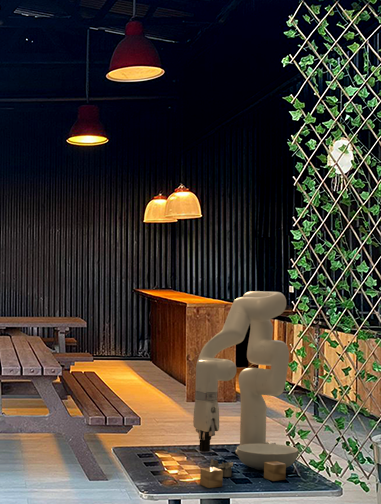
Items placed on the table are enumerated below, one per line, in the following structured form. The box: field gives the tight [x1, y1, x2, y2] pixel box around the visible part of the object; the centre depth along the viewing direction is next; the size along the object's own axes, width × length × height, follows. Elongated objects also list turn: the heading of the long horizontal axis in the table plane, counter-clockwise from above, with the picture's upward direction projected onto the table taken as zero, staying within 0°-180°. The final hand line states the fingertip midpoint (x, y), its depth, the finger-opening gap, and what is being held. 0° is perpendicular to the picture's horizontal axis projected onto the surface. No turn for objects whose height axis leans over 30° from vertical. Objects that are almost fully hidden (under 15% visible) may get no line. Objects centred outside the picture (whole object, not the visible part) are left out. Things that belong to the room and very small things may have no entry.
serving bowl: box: [236, 443, 299, 472], centre depth 288 cm, size 21×21×7 cm
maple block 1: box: [199, 466, 224, 489], centre depth 260 cm, size 5×5×5 cm
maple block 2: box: [263, 461, 287, 482], centre depth 272 cm, size 5×5×5 cm
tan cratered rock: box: [209, 457, 234, 478], centre depth 277 cm, size 11×8×4 cm
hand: (204, 451), depth 286 cm, fingers closed
